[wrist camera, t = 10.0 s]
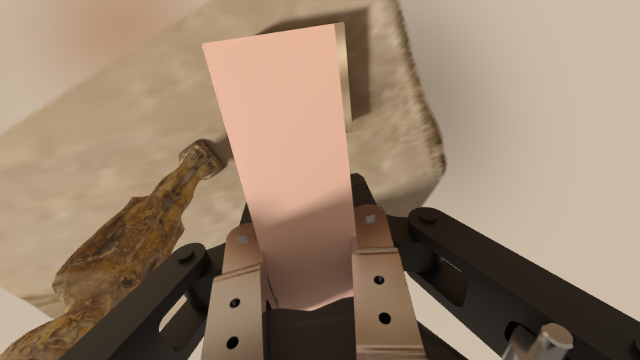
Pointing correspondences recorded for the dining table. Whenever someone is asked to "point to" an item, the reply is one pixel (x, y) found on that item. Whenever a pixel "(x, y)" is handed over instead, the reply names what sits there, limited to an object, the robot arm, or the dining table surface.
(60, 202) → the dining table surface
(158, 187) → the sculpture
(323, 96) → the pink square prism
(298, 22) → the dining table surface
